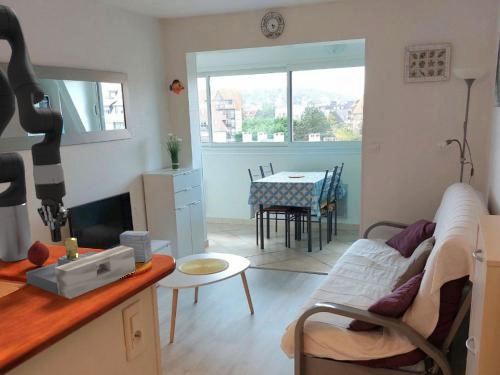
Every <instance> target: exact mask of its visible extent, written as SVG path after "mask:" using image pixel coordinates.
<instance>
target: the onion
mask: <svg viewBox="0 0 500 375" xmlns="http://www.w3.org/2000/svg"><path fill="white" fill-rule="evenodd" d="M50 254H51V253H50V249H49V248H48V247H47V245H45V244H44V243H42V242H41V241H40V239H36V240H35V241H34V243H32V246H31V247H30V248H29V250H28V253H27V257H28V258H27V260H28V261H29V262H30V264H32V265H34V266H36V267H37V266H38V267H43V265H44V264H45V263H46V262H47V261H48V259H49V257H50Z"/></svg>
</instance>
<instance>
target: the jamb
mask: <svg viewBox="0 0 500 375" xmlns="http://www.w3.org/2000/svg"><path fill="white" fill-rule="evenodd" d="M97 253H98V254H95V255H92V256H89V257H86V258H83V259H80V260H76V261H73V262H70V263H67V264H64V265H61V266H58V267H55V272H56V281H57V289H58V294H57V295H58V296H61V297H64V298H66V299H69V300H71V299H74V298H76V297H79V296H81V295H83V294H85V293H88V292H90V291H91V292H92V291H93V290H95V289H99V288H100V287H103V286H105V285H108V284H111V283H113V282H116V281H118V280H120V278H121V279H123V278H125V277H126V276H125V275H127V274H129V273H132V272H134V271H136V262H135V259H134V248H131V247H126V246H121V245H119V246H116V247H113V248H110V249H106V250H105V251H104V250H103V251H101V252H97ZM97 265H99V268H97V269H96V266H97ZM124 276H125V277H124ZM122 277H123V278H122Z"/></svg>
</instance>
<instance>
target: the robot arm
mask: <svg viewBox="0 0 500 375" xmlns="http://www.w3.org/2000/svg"><path fill="white" fill-rule="evenodd" d="M0 40H3V41H6V42H7V43H8V44H9V46H10V49H11V55H10V59H9V61H8V65H7V69H6V71H7V72H5V70H4V69H3V68H2V67H1V65H0V138H1V136H2V135H3V133H4V132H5V130H6V128H7V126H8V125H9V124H10V122H11V120H12V119H13V117H14V115H15V112H16V108H17V110H18V121H19V125H20V126H21V128H22V130H23V131H25V132H26V133H28V134H29V135H41V134H44V137H43V139H42V141H39V142H35V143H34V144H32V146H31V147H30V148H31V160H32V169H33V172H32V175H33V184H34V191H35V198H36V199H37V200H40V201H41V202H40V205H41V207H38V208H37V209H36V210H37V213H38V215H39V217H40V219H41V221H42V223H43V225H44V226H45V227H48V229H49V231H50V239H51V242H52V243H58V242H59V243H60V242H62V241H63V238H62V229H63V227H65V226H66V224H67V222H68V218H69V216H70V213H71V212H70V209H65V207H64V206H65V205H64V204H65V203H64V201H63V198H64V197H66V195H67V191H66V183H65V175H64V168H63V166H62V159H61V158H62V157H61V150H60V149H61V142H62V136H63V130H64V118H63V115H62V114H61V113H62V112H60V111H59V109H58V108H56V107H52V106H50V107H48V106H46V107H45V106H41V107H40V106H39V107H38V106H35V105H38V104H39V103H41V102H42V101H43V100H44V98H45V92H44V89H43V87H42V85H41V83H40V81H39V78H38V77H37V74H36V72H35V69H34V67H33V63H32V61H31V57H30V54H29V49H28V45H27V43H26V42H27V41H26V38H25V34H24V31H23V28H22V25H21V21H20V18H19V16H18V13H16V11H15V10H14V9H13V8H12V7H10V6H8V5H4V4H0ZM16 103H17V107H16ZM7 183H9V186H8V187H7V188H6V189H5V190H3V191H1V192H0V261H2V262H16V261H22V260H26V259H28V257H27V253H28V250H29V248H30V247H31V246H32V245H33V238H32V230H31V223H30V215H29V206H28V200H27V184H26V167H25V163H24V159H23V157H22V155H21V154H20V153H19V152H16V151H11V152H9V151H8V152H7V151H6V152H0V184H1V185H2V184H7Z"/></svg>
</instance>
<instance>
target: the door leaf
mask: <svg viewBox="0 0 500 375" xmlns="http://www.w3.org/2000/svg"><path fill="white" fill-rule="evenodd" d="M98 253H99V252H97V251H88V252H85V253H83V254H82V253H78V255H79V256H82V257H89V256H92V255H95V254H98ZM56 259H57V262H54V263H52V264H48V265H45V266H40V267H38V268H35V269H32V270H29V271H26V272H25V276H26V282H27V284H28V285H31V286H34V287H37V288H39V289H41V290H44V291H48V292H50V293H52V294H55V295H58V289H57V281H56V272H55V267H58V266H61V265H64V264H67V263H70V262H73V261H71V260H67V259H64V258H61V257H57V258H56ZM97 268H99V265H97V266H96V269H97Z"/></svg>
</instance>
